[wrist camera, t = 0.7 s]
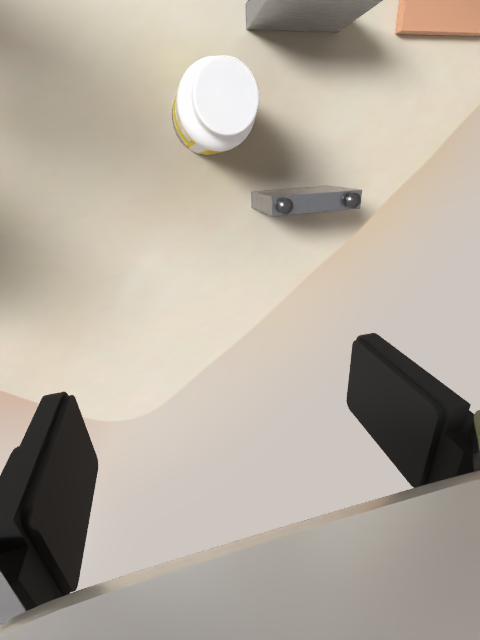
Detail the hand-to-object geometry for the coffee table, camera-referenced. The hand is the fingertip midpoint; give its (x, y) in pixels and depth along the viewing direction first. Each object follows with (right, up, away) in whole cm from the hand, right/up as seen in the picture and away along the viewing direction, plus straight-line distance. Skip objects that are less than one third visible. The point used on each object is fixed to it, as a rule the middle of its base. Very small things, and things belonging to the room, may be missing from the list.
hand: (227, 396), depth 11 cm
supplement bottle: (-3, +20, +17) cm, 26 cm away
